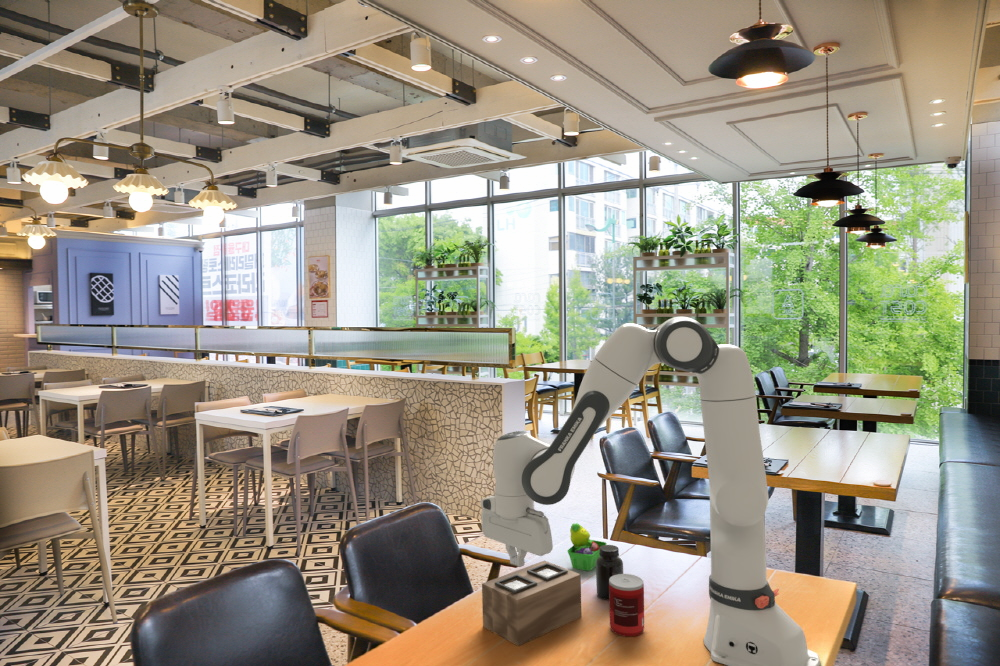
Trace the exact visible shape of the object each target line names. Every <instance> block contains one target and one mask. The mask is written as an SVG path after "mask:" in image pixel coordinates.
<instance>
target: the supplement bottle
mask: <svg viewBox="0 0 1000 666" xmlns="http://www.w3.org/2000/svg"><path fill="white" fill-rule="evenodd" d="M619 551H620V550H619V547H618V546H616V545H613V544H606V545H603V546H600V548H599V555H600V557H599V558H597V560H596V566H595V581H596V582H595V583H596V594H597V596H598V597H599V598H601V599H602V600H606V601H609V579H610V577H612V576H614V575H617V574H624V561H623V560H622V559H621V558H620V557H619V556H620V553H619Z"/></svg>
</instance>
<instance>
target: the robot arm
mask: <svg viewBox="0 0 1000 666" xmlns="http://www.w3.org/2000/svg"><path fill="white" fill-rule="evenodd" d="M658 364H664V365H666V366H668V367H670V368H672V369H675V370H677V371H683V372H688V373H689V372H690V373H694V374H695V376H696V378H697V381H698V387H699V396H700V405H701V407H700V408H701V417H702V425H703V435H704V443H705V444H704V445H705V453H706V455H705V456H706V463H707V464H706V465H707V472H708V473H707V474H708V484H709V522H710V524H709V525H710V526H709V527H710V528H709V529H710V574H709V577H708V596H709V601H710V605H709V606H710V607H709V616H708V621H707V622H708V623H707V626H706V631H705V633H704V634H705V635H704V637H703V644H704V645H705V648H706V649H707V650H709V651H708V652H710V657H711V660H712V661H714V662H716V663H719V664H722V665H725V666H820V665H821V664H820V657H819V656H820V655H819V654H818V653H817V652H815V651H812V650H811V649H809V648H808V644H807V639H806V635H805V632H804V630H803V628H802V627H801V625H799V624H798V623H797V622H796V621H795V620H794V619H793V618H792V617H791V616H790V615H788V613H786V611H785V610H784V609H783V608H781V606H780V605H778V604H777V603H776V599H775V597H777V596H778V595H779V594H780V593H779V591H780V589H779V588H777V589H775V590H772V588H771V586H770V584H769V582H768V580H767V539H766V528H765V527H766V526H765V525H766V524H765V513H766V512H767V509H768V505H769V490H768V482H767V474H766V473H767V472H766V466H765V460H764V452H763V445H762V440H761V433H760V423H759V414H758V405H757V395H756V387H755V381H754V377H753V372H752V369H751V365H750V362H749V359H748V355H747V354H746V352H745V351H744V350H743V349H742V348H741V347H739V346H737V345H733V344H727V343H724V344H722V343H721V344H717V341H715V340H714V338H713V336H712V335H711V334H710V332H709V331H708V330H707V328H706V327H705V326H704V325H703V324H701V323H700V322H699V321H697V320H696V319H694V318H691V317H689V316H674V317H672V318H669V319H667V320H666V321H664V322H662V323H661V324H659V325H657V326H655V327H653V328H651V329H648V328H646V327H645V326H643V325H640V324H637V323H633V322H628V323H623V324H621V325H620V326H618V327H617V329H615V330H614V332H612V333H611V334H610V336H609V337H608V338H607V339H606V340H605V342H604V343H603V344H602V345H601V347H600V348H599V349H598V350H597V352H596V354H595V355H594V357H593V359H592V360H591V361H590V363H589V365H588V367H587V369H586V371H585V372H584V375H583V377H582V381H581V383H580V385H579V388H578V390H577V391H578V392H577V395H576V398H575V401H574V404H573V406H572V407H573V408H572V410H571V411H570V414H569V415H568V418H567V420H565V423H564V424H563V425H562V427H561V429H560V430H559V432H558V433H557V434H556V436H555V438H554V439H553V441H552V443H548V442H544V441H542V440H540V439H538V438H536V437H534V436H532V435H531V434H530V433H528V432H527V431H524V430H523V431H522V430H521V431H520V430H519V431H511V432H508V433H504V434H503V435H501V436H499V438H497V440H496V441H495V443H494V447H493V455H492V457H493V459H492V460H493V461H492V462H493V474H494V476H493V477H494V479H495V487H494V494H493V495H490V496H487V497H484V498H481V499H480V507H481V508H482V510H481V515H480V516H481V518H480V519H481V520H480V523H481V531H482V534H483V535H484V537H485V538H486V539H487V538H488V539H490V540H493V541H496V542H498V543H501V544H504V545H505V550H506V552H507V555H508V556H509V563H510V565H513V566H515V567H517V568H521V567H524V566H525V557H526V555H527V553H530V554H533V555H535V556H539V557H543V556H546V555H548V554H550V553H552V551H553V548H554V546H553V537H552V530H551V525H550V522H549V518H548V517H547V516H546V514H545V513H544V512H543V511H541V510H536V509H535V503H537V504H540V505H545V506H550V505H555V504H557V503H559V502H561V501H562V500H564V498H566V495H568V492H569V489H570V486H571V482H572V478H573V475H574V472H575V468H576V466H575V465H576V464H577V461H578V460H579V458H580V457H581V455H582V454H583V452H584V450H586V447H587V446H588V444H589V443H590V442H591V440H592V438H593V436H594V435H595V434H596V432H597V431H598V430H599V428H600V427H601V426H602V425H603V424H604V423H605V422H606V421H607V420H609V419H610V418H611V416H612V415H613V414H615V412H617V411H618V409H620V408H621V406H623V404H624V403H626V401H627V400H628V398H629V397H630V396H631V395H632V394H633V393H634V391H635V390H636V388H637V387H638V385H639V384H640V382H641V381H642V380H643V379H642V378H644V376H645V375H646V374H647V372H648V371H649V370H650V369H651V368H652V367H653V366H655V365H658Z"/></svg>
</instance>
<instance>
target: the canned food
mask: <svg viewBox="0 0 1000 666" xmlns="http://www.w3.org/2000/svg"><path fill="white" fill-rule="evenodd" d="M644 584H645V583H644V580H643V578H642V577H640V576H638V575H634V574H631V573H623V574H617V575H614V576H612V577H610V579H609V600H608V601H609V604H608V605H609V608H608V609H609V626H610V630H611V631H612V632H614V633H615V634H616V635H618V636H622V637H628V638H629V637H637V636H640V635H641V634H642V633H643V632H644V629H645V585H644Z"/></svg>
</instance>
